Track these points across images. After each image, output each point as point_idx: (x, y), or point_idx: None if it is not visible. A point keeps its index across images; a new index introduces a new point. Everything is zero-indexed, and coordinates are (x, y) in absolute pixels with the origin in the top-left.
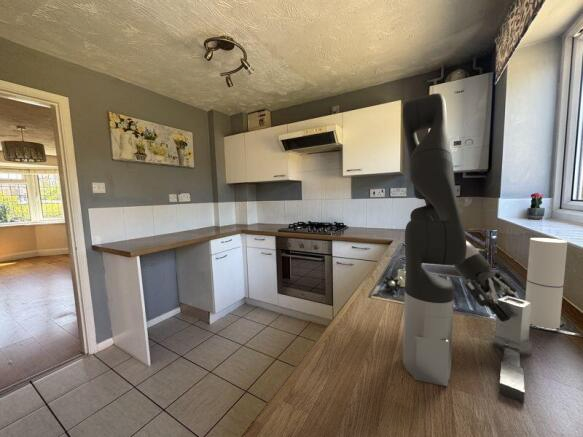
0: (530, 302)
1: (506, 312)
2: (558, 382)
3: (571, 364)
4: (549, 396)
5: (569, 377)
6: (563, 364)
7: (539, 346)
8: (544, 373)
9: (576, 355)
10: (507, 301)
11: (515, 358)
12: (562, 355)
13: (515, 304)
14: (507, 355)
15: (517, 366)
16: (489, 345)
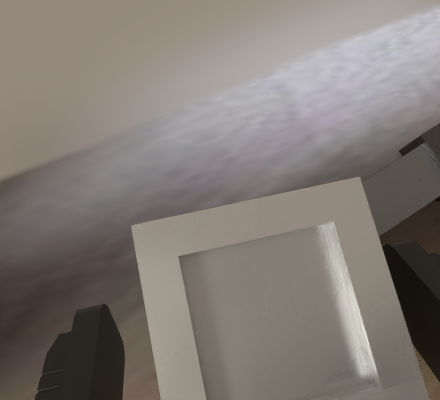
0: (132, 233)
1: (420, 271)
2: (295, 104)
3: (128, 144)
4: (396, 78)
5: (228, 107)
6: (158, 153)
7: (99, 259)
8: (290, 144)
9: (30, 171)
10: (371, 337)
11: (370, 194)
12: (86, 188)
13: (363, 248)
14: (384, 218)
15: (414, 158)
16: None
